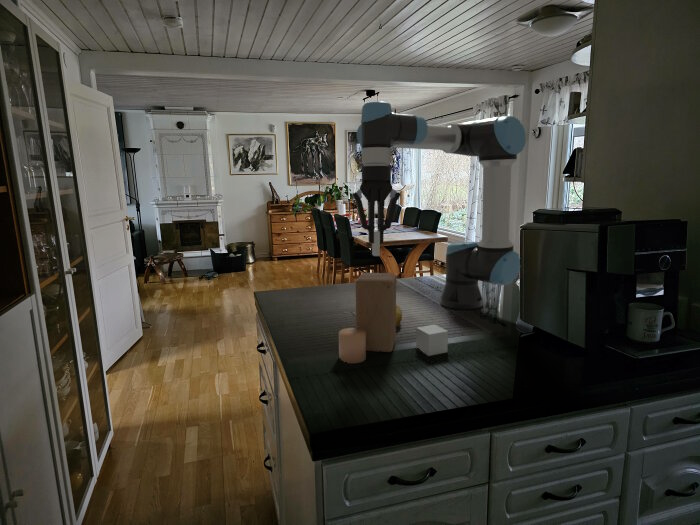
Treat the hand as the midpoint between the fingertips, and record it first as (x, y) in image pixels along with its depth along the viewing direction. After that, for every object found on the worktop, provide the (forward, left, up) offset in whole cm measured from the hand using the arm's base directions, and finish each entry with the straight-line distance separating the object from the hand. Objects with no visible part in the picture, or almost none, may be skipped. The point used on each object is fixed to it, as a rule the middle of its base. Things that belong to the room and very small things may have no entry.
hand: (375, 255), depth 116 cm
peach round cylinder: (+8, +7, -26) cm, 28 cm away
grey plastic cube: (-14, +6, -26) cm, 30 cm away
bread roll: (-8, -18, -26) cm, 33 cm away
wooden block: (0, 0, -26) cm, 26 cm away
